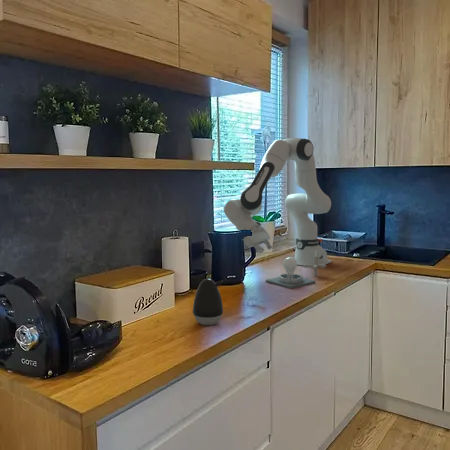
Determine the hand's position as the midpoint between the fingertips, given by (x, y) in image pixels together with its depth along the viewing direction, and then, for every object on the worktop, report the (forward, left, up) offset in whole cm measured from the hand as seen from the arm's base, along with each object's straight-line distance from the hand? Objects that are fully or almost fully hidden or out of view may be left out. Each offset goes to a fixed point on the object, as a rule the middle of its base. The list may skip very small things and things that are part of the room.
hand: (266, 250), depth 212 cm
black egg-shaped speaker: (+59, +32, -14) cm, 68 cm away
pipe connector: (-23, +10, -14) cm, 29 cm away
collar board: (-4, +11, -14) cm, 18 cm away
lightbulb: (-4, +11, -13) cm, 18 cm away
